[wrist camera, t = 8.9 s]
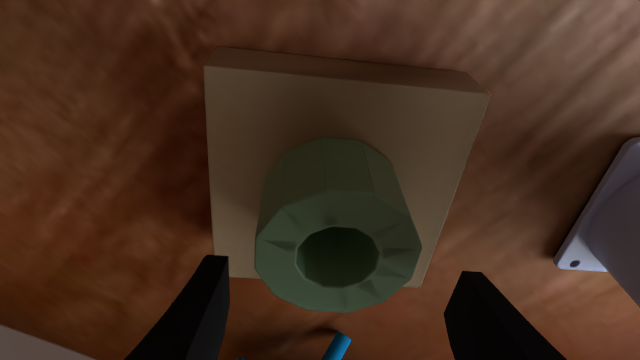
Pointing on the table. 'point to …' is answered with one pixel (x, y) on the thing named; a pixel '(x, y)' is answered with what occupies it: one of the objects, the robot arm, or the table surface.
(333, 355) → the gear
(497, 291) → the robot arm
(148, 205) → the table surface
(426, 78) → the birch block
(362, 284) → the green ring
